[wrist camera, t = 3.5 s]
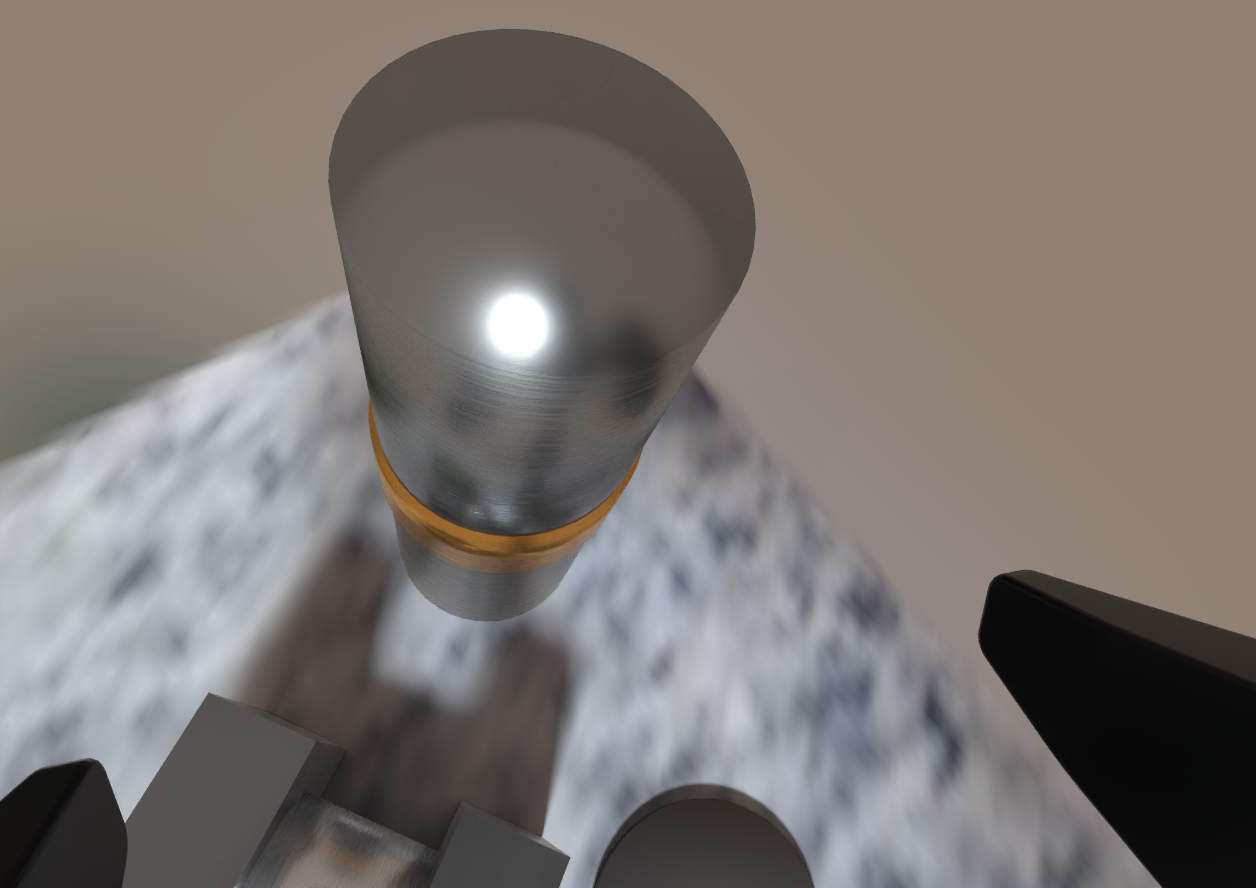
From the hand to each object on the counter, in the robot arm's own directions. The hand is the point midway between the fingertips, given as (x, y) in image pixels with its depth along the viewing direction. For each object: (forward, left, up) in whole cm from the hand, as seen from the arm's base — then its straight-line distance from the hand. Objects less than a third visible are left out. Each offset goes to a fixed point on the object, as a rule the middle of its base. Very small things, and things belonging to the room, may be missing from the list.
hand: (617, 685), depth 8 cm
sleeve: (+4, +2, -11) cm, 12 cm away
